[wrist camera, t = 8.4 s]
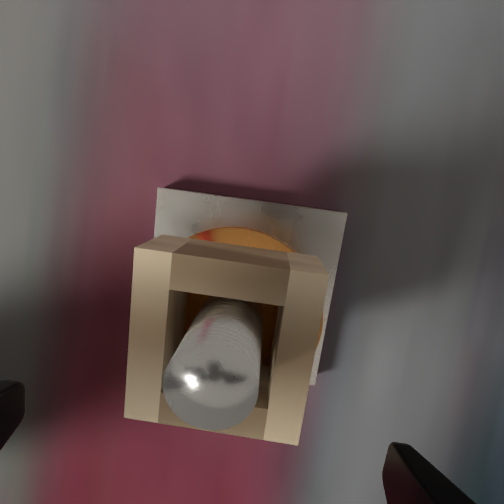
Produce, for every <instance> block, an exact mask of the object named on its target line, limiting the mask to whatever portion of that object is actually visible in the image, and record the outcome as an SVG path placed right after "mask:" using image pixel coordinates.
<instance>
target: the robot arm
mask: <svg viewBox="0 0 504 504" xmlns="http://www.w3.org/2000/svg"><path fill="white" fill-rule="evenodd" d="M24 412H25V388H24V385H23V383H21V382H18V381H12V380H3V381H0V450H1V449H2V447H3V446H4V445H5V443H6V442H7V440H8V439H9V438H10V436H11V435H12V434H13V432H14V431H15V429H16V428H17V427H18V425H19V424H20V422H21V421H22V419H23V416H24ZM382 478H383V485H384V490H385V495H386V500H387V504H476V503H475V502H474V501H473V500H471V499H470V498H469V497H468V496H467V495H466V494H465V493H464V492H462V491H461V490H460V489H459V488H458V487H457V486H456V485H454V484H453V483H452V482H451V481H450V480H449V479H448V478H447V477H445V476H444V475H443V474H442V473H441V472H440V471H439V470H438V469H436V468H435V467H434V466H433V465H432V464H431V463H430V462H429V461H427V460H426V459H425V458H424V457H423V456H422V455H421V454H419V453H418V452H417V451H416V450H415V449H414V448H413V447H411V446H410V445H408V444H404V443H398V442H392V443H391V444H390V445H389V448H388V451H387V455H386V459H385V463H384V467H383V473H382Z"/></svg>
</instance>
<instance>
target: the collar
mask: <svg viewBox="0 0 504 504" xmlns="http://www.w3.org/2000/svg"><path fill="white" fill-rule="evenodd" d="M329 276H330V275H329V274H328V272H327V270H326V269H325V267H324V266H323V264H322V262H321V261H320V259H319V258H318V256H313V255H305V254H298V253H291V252H284V251H277V250H270V249H263V248H256V247H249V246H242V245H235V244H228V243H221V242H214V241H206V240H199V239H192V238H185V237H178V236H171V235H164V234H162V235H160V236H158V237H156V238H154V239H152V240H149V241H147V242H145V243H143V244H141V245H139V246H136V247H134V261H133V278H132V294H131V311H130V327H129V344H128V360H127V377H126V393H125V410H124V418H130V419H136V420H142V421H149V422H155V423H161V424H167V425H173V426H180V427H186V428H192V429H198V430H204V429H200V428H197V427H194V426H191V425H189V424H187V423H186V422H184V421H183V420H181V419H180V418H179V417H178V416H177V415H176V414H175V413H174V412H173V411H172V410H171V408H170V407H169V405H168V403H167V401H166V399H165V396H164V392H163V377H164V373H165V370H166V368H167V366H168V364H169V362H170V360H171V359H172V357H173V355H174V353H175V352H176V350H177V348H178V346H179V345H180V343H181V341H182V340H183V336H184V326H185V316H186V305H187V295H188V292H190V293H196V294H203V295H210V296H217V297H224V298H230V299H237V300H244V301H251V302H258V303H265V304H271V305H278V311H277V318H276V324H275V330H274V337H273V343H272V350H271V356H270V362H269V366H268V365H261V364H260V375H259V390H258V398H257V402H256V404H255V407H254V409H253V410H252V412H251V413H250V414H249V416H248V417H247V418H246V419H245V420H243V421H242V422H241V423H239V424H237V425H235V426H233V427H230V428H227V429H223V430H205V431H211V432H217V433H223V434H230V435H236V436H242V437H248V438H255V439H261V440H267V441H273V442H280V443H286V444H292V445H298V442H299V437H300V431H301V426H302V421H303V415H304V410H305V404H306V399H307V394H308V388H309V383H310V378H311V372H312V367H313V362H314V356H315V351H316V345H317V340H318V335H319V329H320V324H321V319H322V313H323V308H324V303H325V297H326V292H327V286H328V281H329Z"/></svg>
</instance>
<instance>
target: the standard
mask: <svg viewBox="0 0 504 504" xmlns="http://www.w3.org/2000/svg"><path fill="white" fill-rule="evenodd" d="M347 214H348V213H345V212H341V211H333V210H326V209H319V208H311V207H304V206H297V205H289V204H282V203H275V202H267V201H260V200H253V199H245V198H238V197H231V196H223V195H216V194H209V193H201V192H194V191H187V190H180V189H172V188H165V187H159V188H158V190H157V204H156V218H155V232H154V238H156V237H158V236H160V235H162V234H164V235H171V236H178V237H185V238H192V239H199V240H206V241H214V242H221V243H228V244H235V245H242V246H249V247H256V248H263V249H270V250H277V251H284V252H291V253H298V254H305V255H313V256H318V258H319V259H320V261H321V262H322V264H323V266H324V267H325V269H326V270H327V272H328V274H329V275H330V276H329V281H328V286H327V292H326V297H325V303H324V308H323V313H322V319H321V324H320V329H319V335H318V340H317V345H316V351H315V356H314V362H313V367H312V372H311V378H310V383H309V385H314V386H315V382H316V377H317V371H318V366H319V361H320V356H321V350H322V345H323V340H324V335H325V329H326V324H327V319H328V314H329V308H330V303H331V298H332V293H333V287H334V282H335V277H336V272H337V266H338V261H339V256H340V250H341V245H342V240H343V235H344V229H345V224H346V219H347ZM277 311H278V305H271V304H265V303H258V302H251V301H244V300H237V299H230V298H224V297H217V296H210V295H203V294H196V293H190V292H188V295H187V305H186V316H185V326H184V336H183V340H182V341H181V343H180V345H179V346H178V348H177V350H176V352H175V353H174V355H173V357H172V359H171V360H170V362H169V364H168V366H167V368H166V370H165V373H164V377H163V392H164V396H165V399H166V401H167V403H168V405H169V407H170V408H171V410H172V411H173V412H174V413H175V414H176V415H177V416H178V417H179V418H180V419H181V420H183V421H184V422H186V423H187V424H189V425H191V426H194V427H197V428H200V429H204V430H223V429H227V428H230V427H233V426H235V425H237V424H239V423H241V422H242V421H243V420H245V419H246V418H247V417H248V416H249V414H250V413H251V412H252V410H253V409H254V407H255V404H256V402H257V398H258V390H259V375H260V364H261V365H268V366H269V362H270V356H271V350H272V343H273V337H274V330H275V324H276V318H277Z"/></svg>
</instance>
